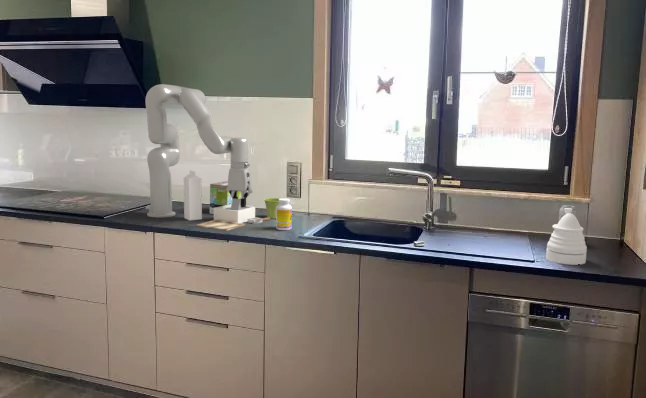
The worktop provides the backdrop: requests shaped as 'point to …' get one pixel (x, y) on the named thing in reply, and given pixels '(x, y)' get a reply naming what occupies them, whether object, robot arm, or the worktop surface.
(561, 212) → the clear tall block
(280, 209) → the supplement bottle
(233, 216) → the bin
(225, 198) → the tea box
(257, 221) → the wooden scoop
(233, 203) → the gray block
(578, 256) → the honey pot
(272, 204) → the plant pot
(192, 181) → the milk
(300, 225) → the worktop surface
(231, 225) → the tray
